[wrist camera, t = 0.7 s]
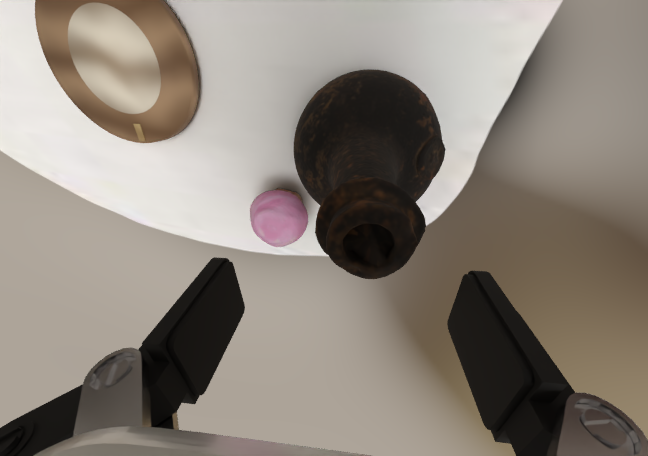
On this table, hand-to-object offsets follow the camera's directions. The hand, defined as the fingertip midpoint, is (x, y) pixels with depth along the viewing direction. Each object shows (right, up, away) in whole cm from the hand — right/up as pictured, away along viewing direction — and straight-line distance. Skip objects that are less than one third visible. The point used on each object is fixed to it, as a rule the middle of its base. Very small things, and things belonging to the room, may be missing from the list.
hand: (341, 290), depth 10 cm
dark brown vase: (+5, +15, +26) cm, 31 cm away
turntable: (-28, +26, +24) cm, 45 cm away
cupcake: (-7, +7, +32) cm, 34 cm away
